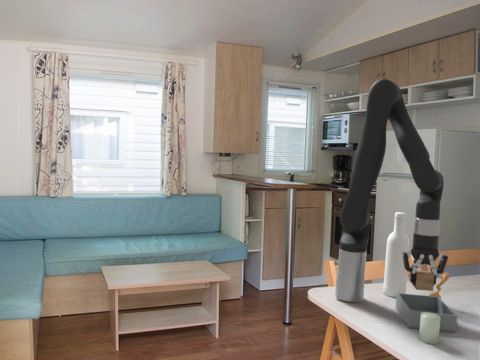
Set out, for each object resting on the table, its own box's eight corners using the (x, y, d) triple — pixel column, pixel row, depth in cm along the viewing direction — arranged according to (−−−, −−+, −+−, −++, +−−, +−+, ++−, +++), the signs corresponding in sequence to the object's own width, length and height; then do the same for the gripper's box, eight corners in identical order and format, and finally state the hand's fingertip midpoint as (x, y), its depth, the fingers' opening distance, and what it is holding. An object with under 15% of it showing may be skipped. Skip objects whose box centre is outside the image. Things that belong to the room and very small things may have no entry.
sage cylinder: (421, 343, 120) (423, 318, 120) (416, 335, 125) (418, 311, 125) (440, 345, 120) (443, 319, 119) (434, 337, 125) (436, 313, 124)
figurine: (430, 299, 158) (433, 266, 157) (449, 303, 155) (452, 269, 154) (425, 305, 151) (428, 270, 150) (444, 309, 148) (447, 274, 147)
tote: (408, 328, 130) (409, 311, 130) (395, 307, 147) (396, 292, 147) (455, 332, 129) (456, 316, 128) (436, 311, 146) (438, 296, 145)
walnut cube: (412, 284, 145) (413, 269, 144) (428, 286, 144) (429, 271, 144) (416, 289, 140) (417, 274, 139) (433, 290, 139) (434, 275, 139)
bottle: (408, 298, 157) (415, 215, 155) (386, 297, 157) (393, 213, 155) (401, 291, 165) (407, 211, 163) (380, 290, 165) (386, 210, 163)
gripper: (445, 231, 143) (442, 283, 145) (400, 229, 145) (396, 279, 146) (454, 236, 136) (450, 290, 137) (405, 233, 138) (402, 286, 139)
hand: (422, 284), depth 142 cm, fingers closed on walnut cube, 5 cm apart
